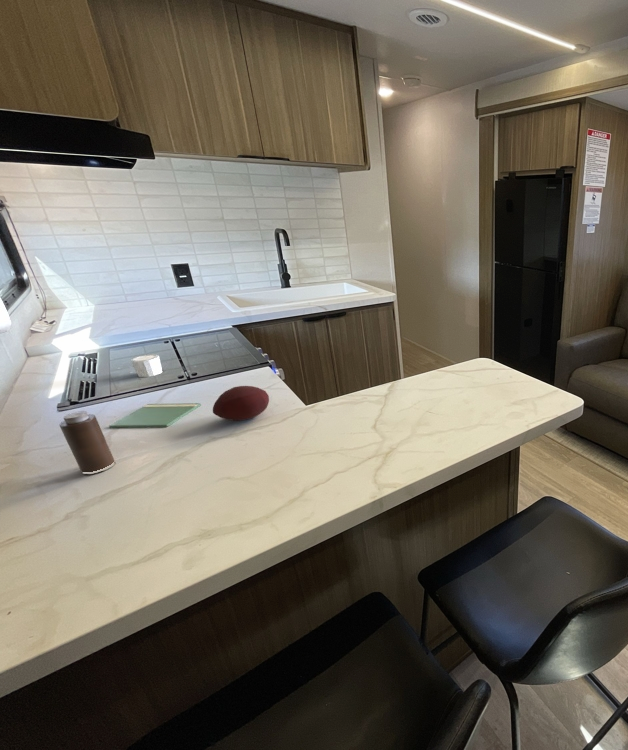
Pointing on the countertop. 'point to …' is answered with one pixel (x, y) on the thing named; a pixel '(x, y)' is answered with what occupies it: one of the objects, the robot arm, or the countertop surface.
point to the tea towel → (156, 415)
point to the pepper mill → (86, 441)
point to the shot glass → (147, 365)
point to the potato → (241, 403)
